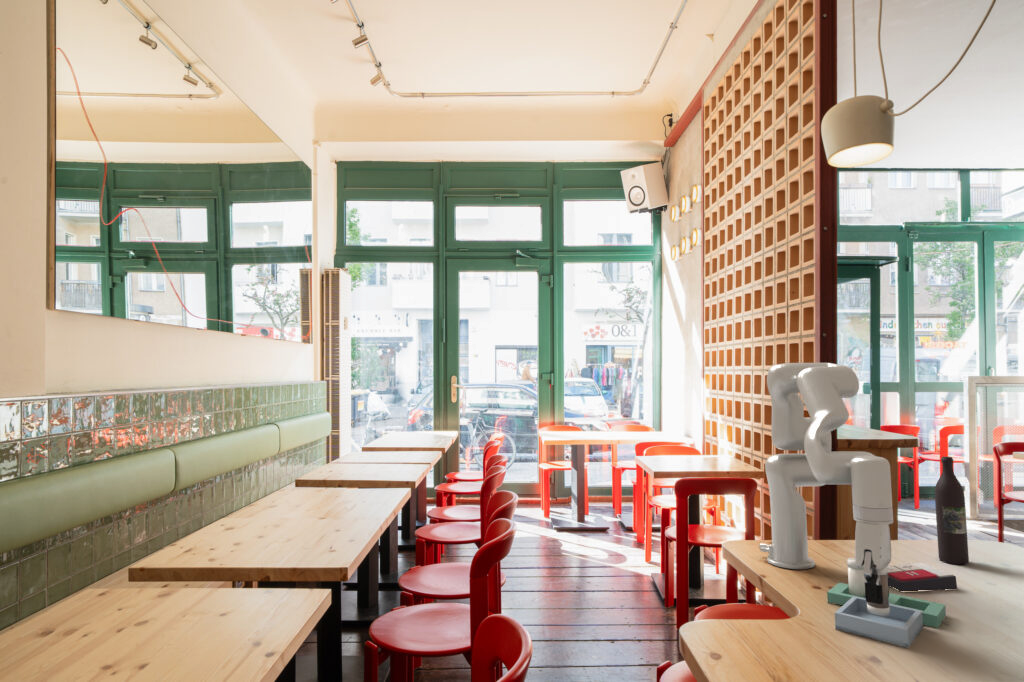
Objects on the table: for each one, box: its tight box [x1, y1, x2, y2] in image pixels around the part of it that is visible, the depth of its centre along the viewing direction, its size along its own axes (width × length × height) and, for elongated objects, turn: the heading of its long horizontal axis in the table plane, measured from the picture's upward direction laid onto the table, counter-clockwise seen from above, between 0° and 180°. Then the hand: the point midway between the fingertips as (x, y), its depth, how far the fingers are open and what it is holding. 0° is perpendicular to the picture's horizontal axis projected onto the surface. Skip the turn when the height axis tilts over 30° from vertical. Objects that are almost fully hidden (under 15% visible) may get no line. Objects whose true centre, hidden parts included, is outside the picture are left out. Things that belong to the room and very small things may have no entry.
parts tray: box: [834, 596, 924, 649], centre depth 130 cm, size 13×13×4 cm
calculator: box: [887, 562, 958, 592], centre depth 157 cm, size 11×4×15 cm
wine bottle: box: [934, 456, 970, 566], centre depth 175 cm, size 7×7×30 cm
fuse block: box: [826, 582, 947, 629], centre depth 140 cm, size 22×9×2 cm, turn 45°
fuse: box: [846, 557, 865, 598], centre depth 144 cm, size 4×4×10 cm
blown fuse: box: [867, 565, 890, 616], centre depth 130 cm, size 4×4×10 cm
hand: (877, 598), depth 130 cm, fingers closed on blown fuse, 4 cm apart
